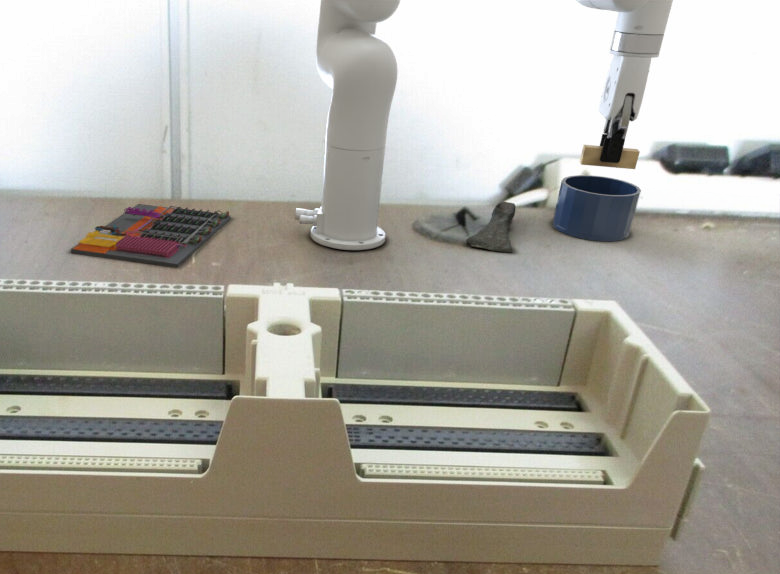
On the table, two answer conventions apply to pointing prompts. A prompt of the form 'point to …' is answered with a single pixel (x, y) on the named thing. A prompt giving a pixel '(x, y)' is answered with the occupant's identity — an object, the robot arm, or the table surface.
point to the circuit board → (153, 235)
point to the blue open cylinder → (596, 207)
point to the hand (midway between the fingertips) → (608, 159)
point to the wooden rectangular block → (592, 158)
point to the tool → (495, 230)
